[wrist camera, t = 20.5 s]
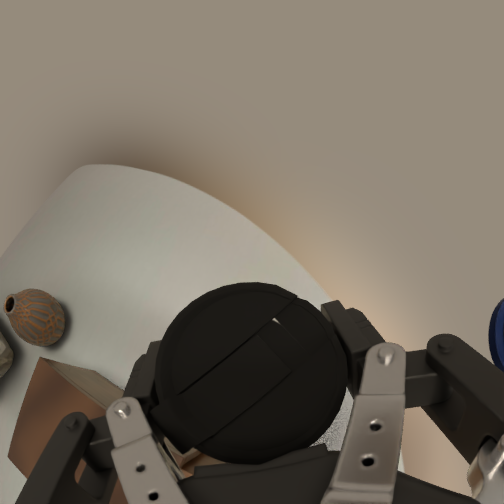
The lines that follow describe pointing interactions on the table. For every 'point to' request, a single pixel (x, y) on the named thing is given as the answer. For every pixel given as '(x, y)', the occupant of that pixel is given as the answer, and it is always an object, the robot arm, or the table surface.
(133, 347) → the table surface
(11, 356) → the decorative stone
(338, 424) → the table surface
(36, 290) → the vase
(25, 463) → the cabinet
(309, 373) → the travel mug
